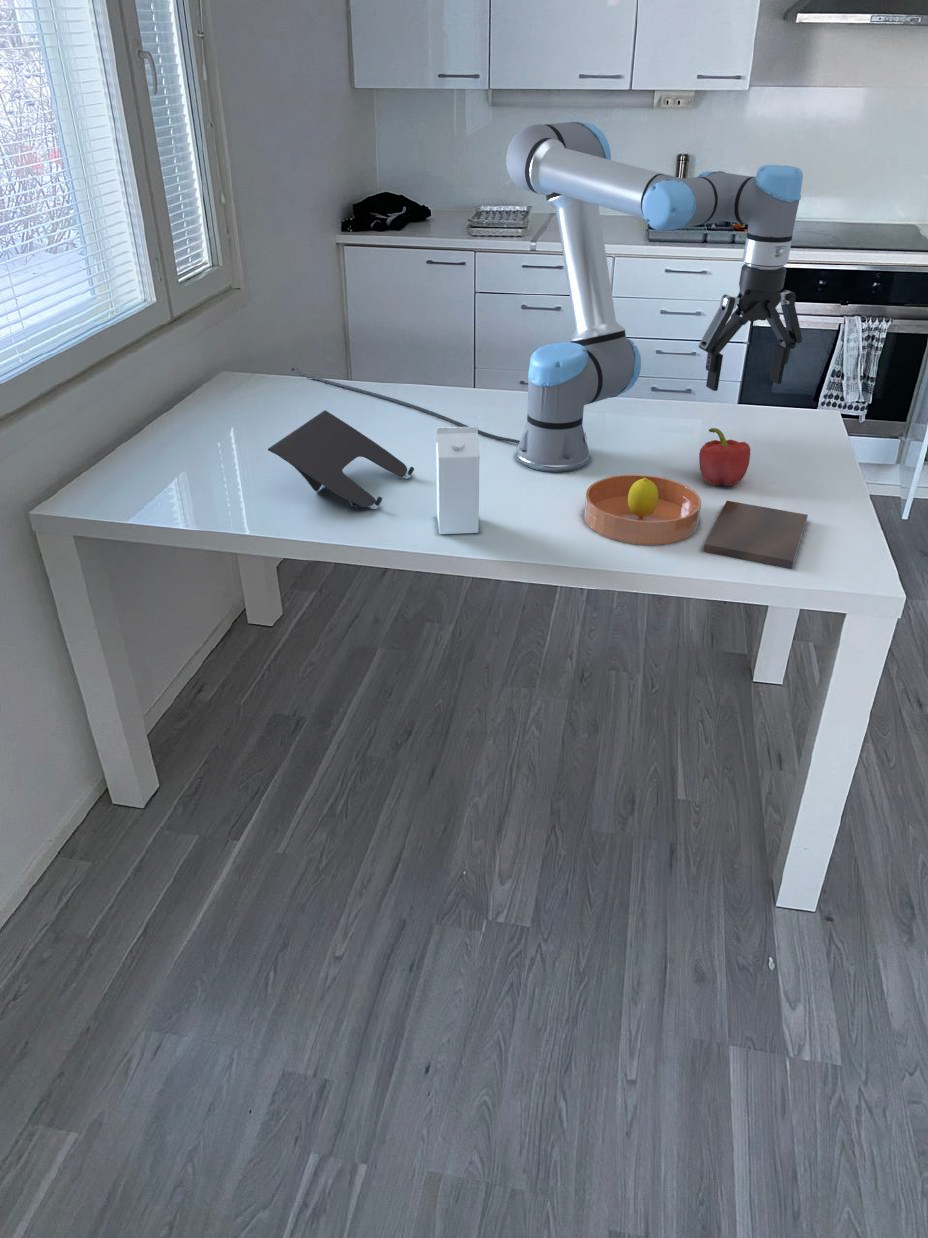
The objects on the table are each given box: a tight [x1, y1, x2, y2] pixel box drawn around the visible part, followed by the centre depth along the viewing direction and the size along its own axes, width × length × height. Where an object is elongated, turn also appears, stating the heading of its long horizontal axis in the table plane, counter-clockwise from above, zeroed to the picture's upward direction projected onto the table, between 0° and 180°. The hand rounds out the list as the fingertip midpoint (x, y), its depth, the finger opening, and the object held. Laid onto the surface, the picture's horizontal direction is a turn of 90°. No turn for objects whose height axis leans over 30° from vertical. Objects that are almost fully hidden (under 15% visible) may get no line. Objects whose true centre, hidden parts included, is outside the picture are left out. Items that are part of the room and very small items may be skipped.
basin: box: [583, 474, 702, 546], centre depth 174 cm, size 21×21×4 cm
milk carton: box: [435, 426, 480, 535], centre depth 168 cm, size 7×7×19 cm
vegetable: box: [698, 427, 751, 487], centre depth 188 cm, size 11×10×10 cm
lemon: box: [628, 478, 658, 518], centre depth 173 cm, size 6×6×8 cm
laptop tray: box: [267, 409, 415, 510], centre depth 186 cm, size 23×23×9 cm
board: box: [703, 500, 809, 570], centre depth 169 cm, size 15×20×2 cm
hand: (743, 385), depth 173 cm, fingers open, 13 cm apart
